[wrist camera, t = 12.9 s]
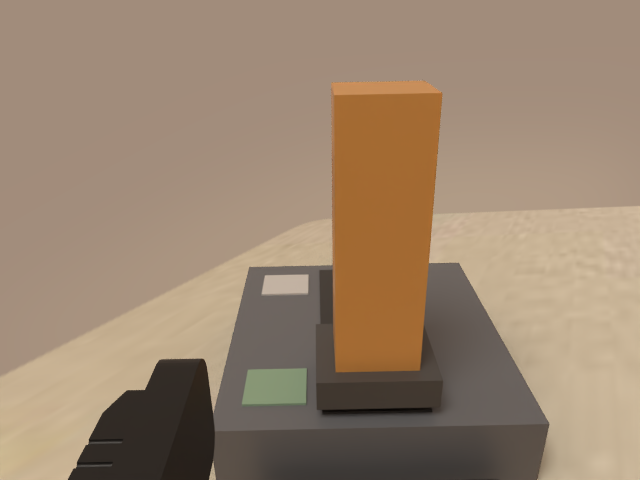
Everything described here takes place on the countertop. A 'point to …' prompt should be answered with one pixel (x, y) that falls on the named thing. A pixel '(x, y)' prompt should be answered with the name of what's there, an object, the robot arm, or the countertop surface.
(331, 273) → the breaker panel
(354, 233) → the handle
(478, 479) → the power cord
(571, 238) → the countertop surface
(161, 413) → the robot arm
